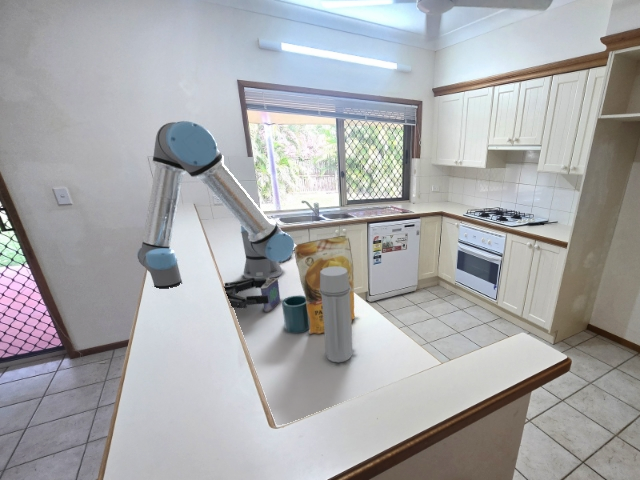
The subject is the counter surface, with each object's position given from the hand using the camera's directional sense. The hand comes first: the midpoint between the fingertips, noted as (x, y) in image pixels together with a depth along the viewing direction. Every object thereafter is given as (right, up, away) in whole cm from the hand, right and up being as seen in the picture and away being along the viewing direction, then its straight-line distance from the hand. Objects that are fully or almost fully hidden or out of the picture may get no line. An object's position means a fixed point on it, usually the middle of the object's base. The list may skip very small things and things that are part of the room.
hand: (271, 290), depth 114 cm
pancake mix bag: (+23, -11, -9) cm, 27 cm away
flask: (-1, -6, +2) cm, 6 cm away
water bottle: (+28, -18, -25) cm, 41 cm away
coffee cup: (+12, -11, -10) cm, 20 cm away
